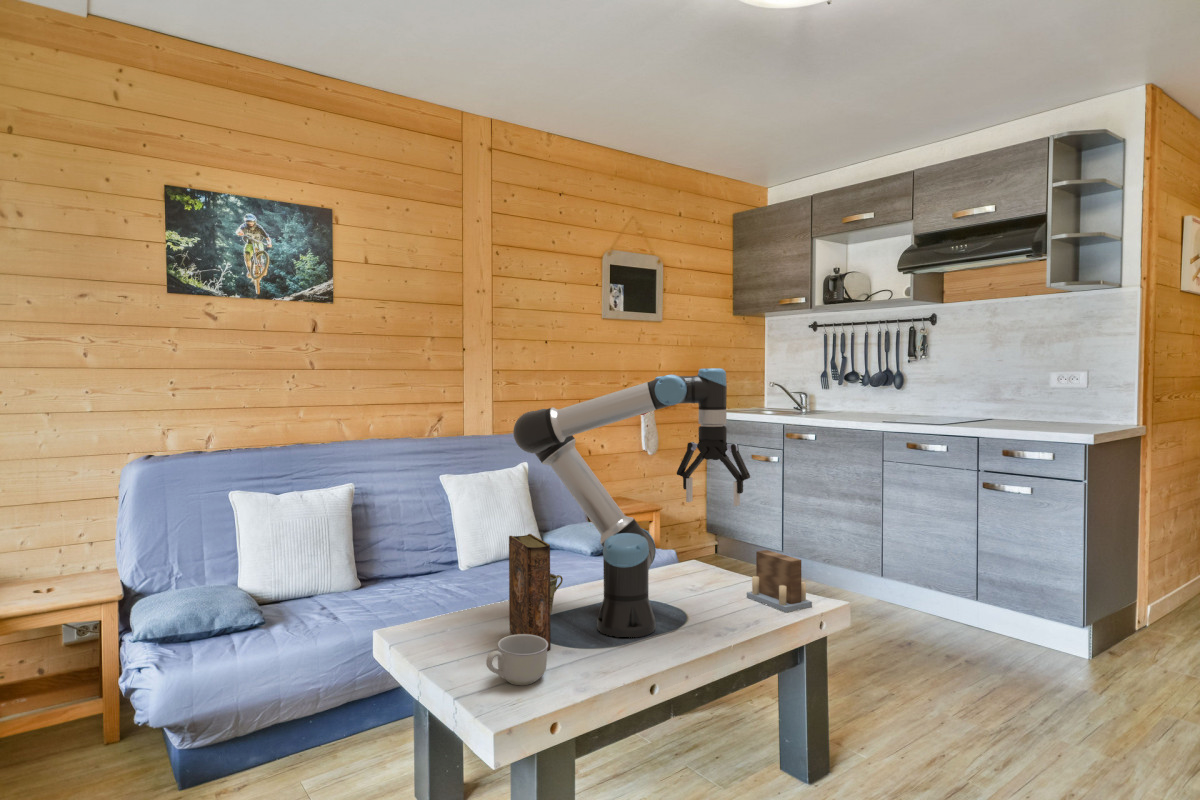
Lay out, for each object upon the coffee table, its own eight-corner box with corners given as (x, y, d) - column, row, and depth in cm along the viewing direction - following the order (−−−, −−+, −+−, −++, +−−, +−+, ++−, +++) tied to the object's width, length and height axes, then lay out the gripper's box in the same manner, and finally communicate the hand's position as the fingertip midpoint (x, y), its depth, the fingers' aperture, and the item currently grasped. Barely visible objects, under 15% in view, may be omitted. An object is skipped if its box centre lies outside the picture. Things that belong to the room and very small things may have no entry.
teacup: (536, 665, 155) (536, 630, 155) (556, 683, 146) (556, 646, 145) (476, 678, 148) (476, 641, 148) (493, 698, 139) (493, 658, 139)
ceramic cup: (535, 621, 184) (535, 584, 184) (514, 612, 192) (514, 576, 192) (573, 611, 193) (573, 575, 192) (551, 603, 200) (551, 568, 200)
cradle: (746, 597, 204) (746, 575, 204) (771, 592, 209) (771, 571, 209) (785, 612, 191) (785, 589, 190) (811, 606, 195) (812, 584, 195)
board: (756, 591, 205) (756, 551, 205) (766, 589, 207) (766, 549, 207) (791, 604, 193) (791, 561, 193) (801, 602, 195) (801, 559, 195)
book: (552, 651, 164) (552, 546, 163) (530, 655, 161) (529, 548, 161) (529, 629, 178) (529, 532, 178) (509, 632, 176) (508, 534, 176)
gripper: (761, 425, 184) (761, 505, 184) (676, 423, 197) (676, 497, 197) (752, 427, 178) (752, 509, 178) (664, 424, 190) (664, 501, 191)
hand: (712, 503), depth 187 cm, fingers open, 13 cm apart
